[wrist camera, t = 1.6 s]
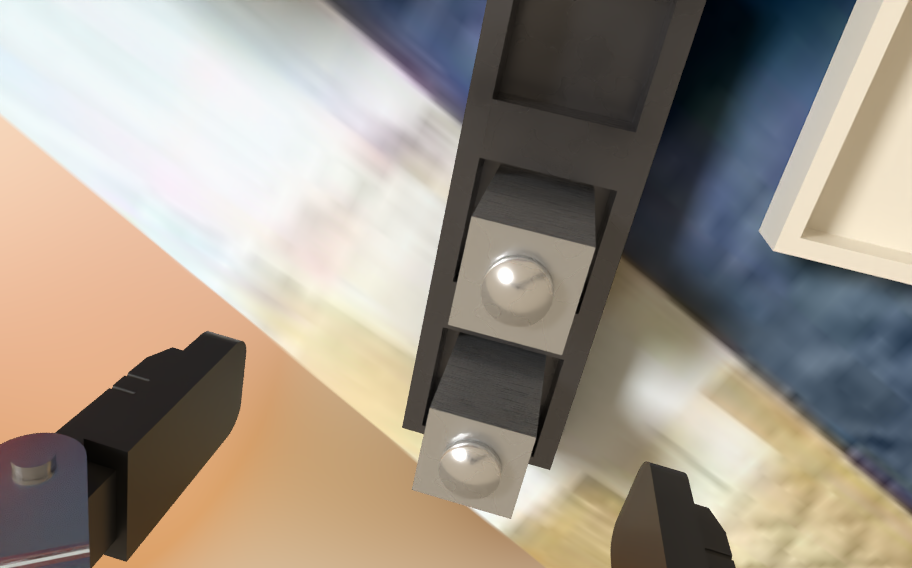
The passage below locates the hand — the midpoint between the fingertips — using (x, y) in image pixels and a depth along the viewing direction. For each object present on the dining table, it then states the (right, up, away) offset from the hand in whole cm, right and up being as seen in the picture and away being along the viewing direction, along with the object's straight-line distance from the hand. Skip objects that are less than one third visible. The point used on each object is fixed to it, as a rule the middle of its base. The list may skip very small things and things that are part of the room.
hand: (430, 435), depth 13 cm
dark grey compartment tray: (+4, +6, +19) cm, 20 cm away
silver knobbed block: (+4, +6, +18) cm, 20 cm away
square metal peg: (+3, -2, +22) cm, 22 cm away
